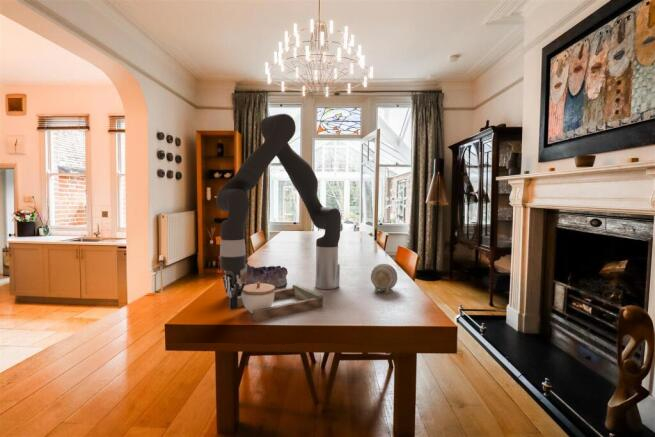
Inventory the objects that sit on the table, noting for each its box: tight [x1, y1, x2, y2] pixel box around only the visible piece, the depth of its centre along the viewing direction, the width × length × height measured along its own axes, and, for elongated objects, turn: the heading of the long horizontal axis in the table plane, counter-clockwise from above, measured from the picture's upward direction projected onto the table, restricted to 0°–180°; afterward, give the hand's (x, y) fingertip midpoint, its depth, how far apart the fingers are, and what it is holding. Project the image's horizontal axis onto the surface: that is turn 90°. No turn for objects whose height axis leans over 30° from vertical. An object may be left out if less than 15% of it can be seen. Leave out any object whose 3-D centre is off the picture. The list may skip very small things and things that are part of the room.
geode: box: [246, 263, 289, 288], centre depth 139 cm, size 20×12×10 cm, turn 102°
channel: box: [237, 283, 324, 322], centre depth 113 cm, size 25×17×4 cm
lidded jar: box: [242, 282, 276, 314], centre depth 108 cm, size 11×11×9 cm
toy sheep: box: [370, 263, 398, 295], centre depth 134 cm, size 11×17×11 cm, turn 165°
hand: (233, 308), depth 103 cm, fingers closed
